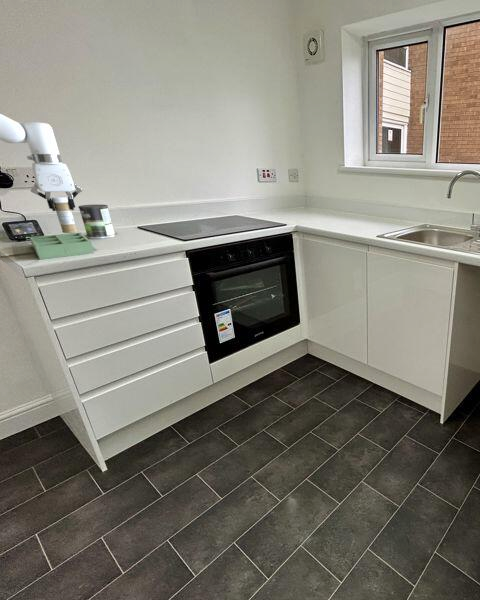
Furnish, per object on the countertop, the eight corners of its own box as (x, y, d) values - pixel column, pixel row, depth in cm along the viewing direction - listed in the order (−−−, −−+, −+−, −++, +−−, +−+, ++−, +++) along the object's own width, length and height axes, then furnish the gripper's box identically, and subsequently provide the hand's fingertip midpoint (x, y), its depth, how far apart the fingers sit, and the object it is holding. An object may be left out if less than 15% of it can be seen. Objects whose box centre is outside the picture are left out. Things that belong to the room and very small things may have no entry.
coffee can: (95, 239, 157) (86, 207, 152) (82, 237, 161) (73, 205, 156) (120, 236, 166) (112, 205, 161) (107, 233, 170) (99, 203, 165)
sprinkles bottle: (66, 231, 140) (56, 196, 135) (80, 231, 141) (70, 196, 136) (59, 233, 136) (48, 197, 131) (73, 233, 137) (62, 197, 132)
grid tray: (39, 259, 126) (35, 247, 124) (33, 248, 140) (29, 237, 138) (94, 252, 137) (91, 241, 135) (83, 243, 151) (80, 232, 149)
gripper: (15, 159, 120) (33, 213, 127) (79, 160, 132) (93, 209, 139) (13, 158, 125) (31, 210, 132) (76, 160, 137) (89, 207, 143)
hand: (63, 209), depth 135 cm, fingers closed on sprinkles bottle, 4 cm apart
